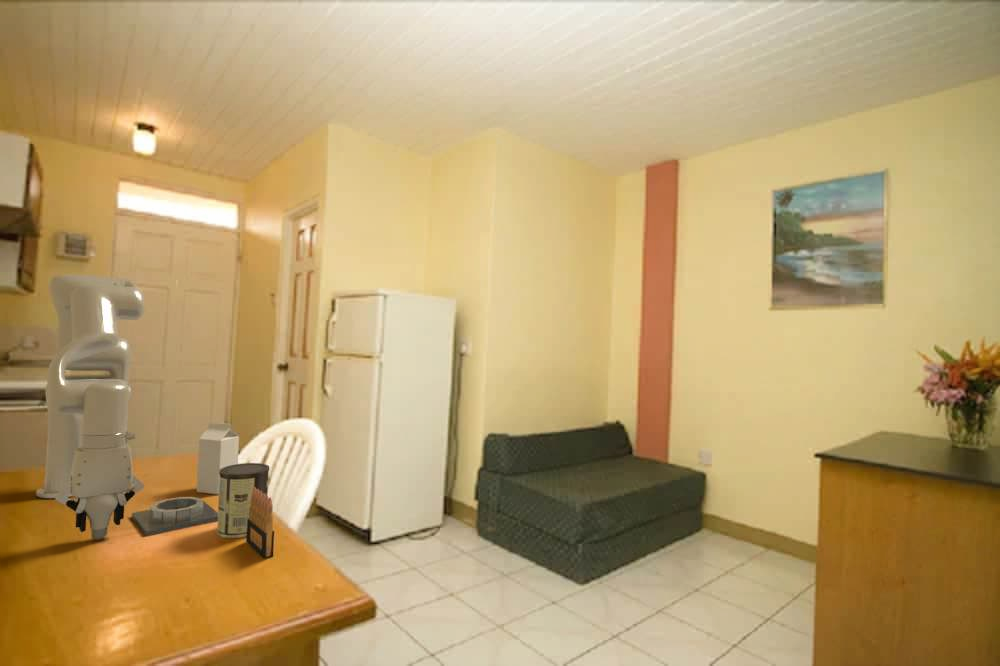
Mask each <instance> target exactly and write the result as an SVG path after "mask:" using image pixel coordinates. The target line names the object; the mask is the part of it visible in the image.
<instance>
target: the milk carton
mask: <svg viewBox="0 0 1000 666" xmlns="http://www.w3.org/2000/svg"><path fill="white" fill-rule="evenodd" d="M239 446H240V435H239V434H237V432H236V431H235V430H234V429H232V424H230V423H222V422H221V423H220V422H209V425H208V427H207V428H206V429H205V431H204V432H203V433H202V434H201V436H200V437H199V439H198V455H197V472H196V473H197V474H196V475H197V477H196V492H197V493H203V494H212V495H219V481H220V474H219V470H220V469H222V468H224V467H227V466H230V465H235V464H239Z"/></svg>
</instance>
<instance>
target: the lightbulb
mask: <svg viewBox="0 0 1000 666" xmlns="http://www.w3.org/2000/svg"><path fill="white" fill-rule="evenodd" d="M118 502H119V501H118V497H117V495H116V494H100V495H97V496H94V497H90V498H88V500H87V502H86V504H85V508H84V512H86V513H87V515H86V518H87V519H88V521H89V528H90V530H91V532H90V533H91V538H92V539H94V540H96V541H99V540H102V539H103V538H105V537H106V536H107V535H108V529H109V528H108V527H109V525H110V520H111V516H112V515H113V514H114V510H115V508H116V507H117V505H118Z"/></svg>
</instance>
